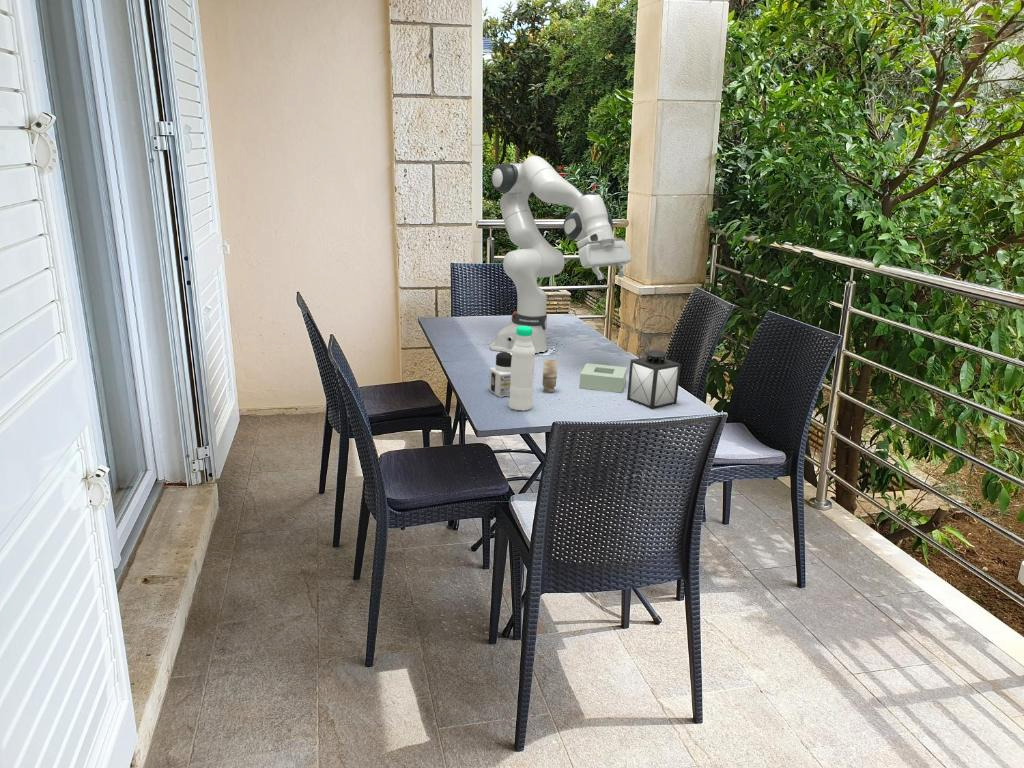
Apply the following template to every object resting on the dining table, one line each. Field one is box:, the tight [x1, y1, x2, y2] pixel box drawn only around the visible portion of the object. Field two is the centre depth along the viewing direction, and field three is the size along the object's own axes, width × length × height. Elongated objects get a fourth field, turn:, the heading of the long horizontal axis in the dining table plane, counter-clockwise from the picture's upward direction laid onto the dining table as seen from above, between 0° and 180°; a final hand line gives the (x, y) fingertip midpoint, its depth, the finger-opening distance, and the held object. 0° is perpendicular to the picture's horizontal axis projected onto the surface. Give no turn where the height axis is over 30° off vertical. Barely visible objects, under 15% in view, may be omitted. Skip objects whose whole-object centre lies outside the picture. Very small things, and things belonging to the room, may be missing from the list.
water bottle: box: [508, 326, 536, 411], centre depth 238 cm, size 7×7×25 cm
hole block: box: [579, 362, 628, 394], centre depth 269 cm, size 14×14×5 cm
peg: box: [541, 359, 558, 393], centre depth 258 cm, size 4×4×10 cm
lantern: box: [626, 314, 682, 410], centre depth 250 cm, size 11×11×28 cm
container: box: [488, 351, 512, 398], centre depth 254 cm, size 8×8×13 cm
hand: (611, 278), depth 269 cm, fingers open, 8 cm apart
